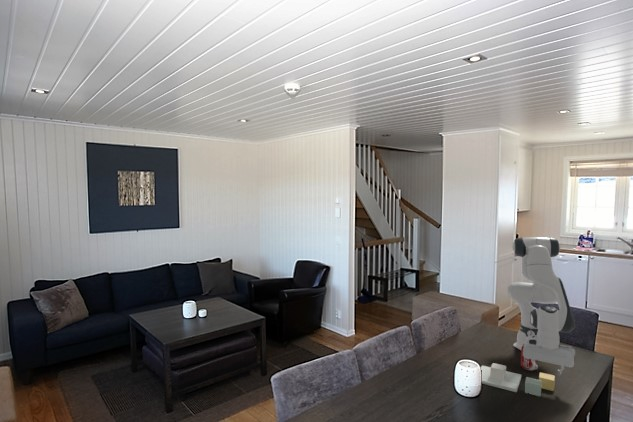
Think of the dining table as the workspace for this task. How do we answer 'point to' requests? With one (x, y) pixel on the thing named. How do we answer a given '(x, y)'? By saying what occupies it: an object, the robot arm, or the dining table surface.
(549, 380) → the ochre brick
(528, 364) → the soda can
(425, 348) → the dining table surface
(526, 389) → the sage brick
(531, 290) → the robot arm
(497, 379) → the build board
